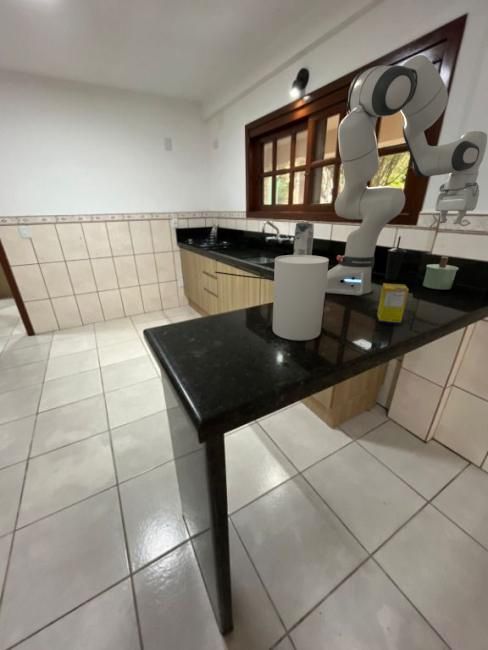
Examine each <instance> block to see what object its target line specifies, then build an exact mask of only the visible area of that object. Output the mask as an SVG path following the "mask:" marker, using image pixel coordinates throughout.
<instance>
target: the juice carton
mask: <svg viewBox="0 0 488 650" xmlns="http://www.w3.org/2000/svg"><path fill="white" fill-rule="evenodd" d="M314 233H315V223H314V222H306V221H305V219H300V220H298V222H296V223H295V230H294V239H293V241H294V242H293V255H313V247H314V235H315V234H314Z"/></svg>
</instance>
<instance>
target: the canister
mask: <svg viewBox="0 0 488 650" xmlns="http://www.w3.org/2000/svg"><path fill="white" fill-rule="evenodd" d="M329 262H330V259H329V258H328V257H325V256H319V255H313V254H312V255H294V254H287V255H279V256H276V257H275V258H274V273H273V274H274V276H273V278H274V280H273V298H272V299H273V300H272V301H273V302H272V303H273V304H272V307H273V308H272V328H271V330H272V332H273V333H274V334H275V335H276V336H277V337H279V338H282V339H286V340H290V341H309V340H313V339H315V338H318V337H319V336H320V335H321V331H322V324H323V323H322V322H323V315H324V314H323V313H324V306H325V305H324V303H325V299H326V298H325V296H326V293H325V289H326V280H327V272H328V271H329Z"/></svg>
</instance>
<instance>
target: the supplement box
mask: <svg viewBox="0 0 488 650" xmlns="http://www.w3.org/2000/svg"><path fill="white" fill-rule="evenodd" d="M408 294H409V288H408V287H407V286H406V284H401V283H387V282H384V283H382V288H381V293H380V298H379V302H378V307H377V313H376V318H377V322H378V323H379V324H389V325H390V324H391V325H399V326H400V325H401V323H402V320H403V316H404V312H405V307H406V302H407V298H408Z"/></svg>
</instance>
